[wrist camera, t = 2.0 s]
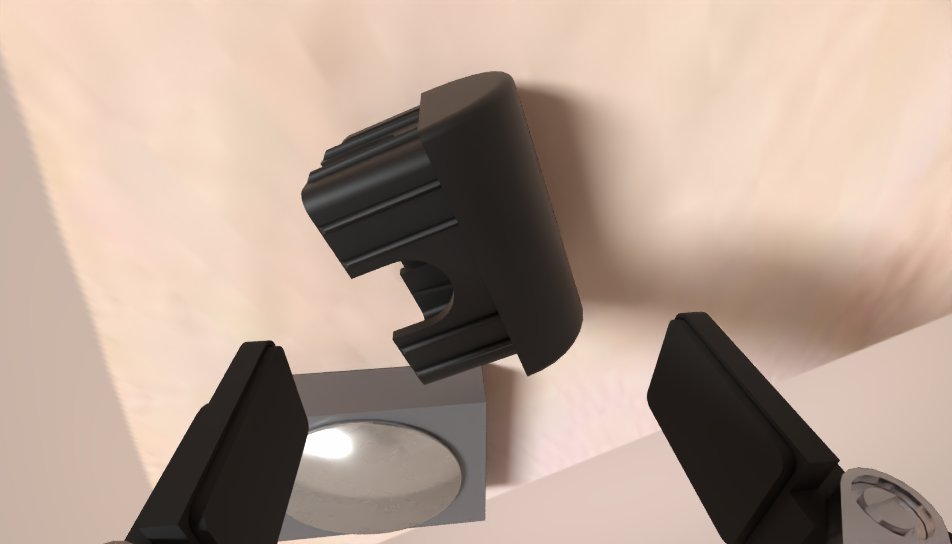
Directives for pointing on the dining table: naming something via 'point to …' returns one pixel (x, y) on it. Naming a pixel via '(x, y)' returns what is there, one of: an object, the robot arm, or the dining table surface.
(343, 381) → the grey domed push button
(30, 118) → the dining table surface
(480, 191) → the end cap
